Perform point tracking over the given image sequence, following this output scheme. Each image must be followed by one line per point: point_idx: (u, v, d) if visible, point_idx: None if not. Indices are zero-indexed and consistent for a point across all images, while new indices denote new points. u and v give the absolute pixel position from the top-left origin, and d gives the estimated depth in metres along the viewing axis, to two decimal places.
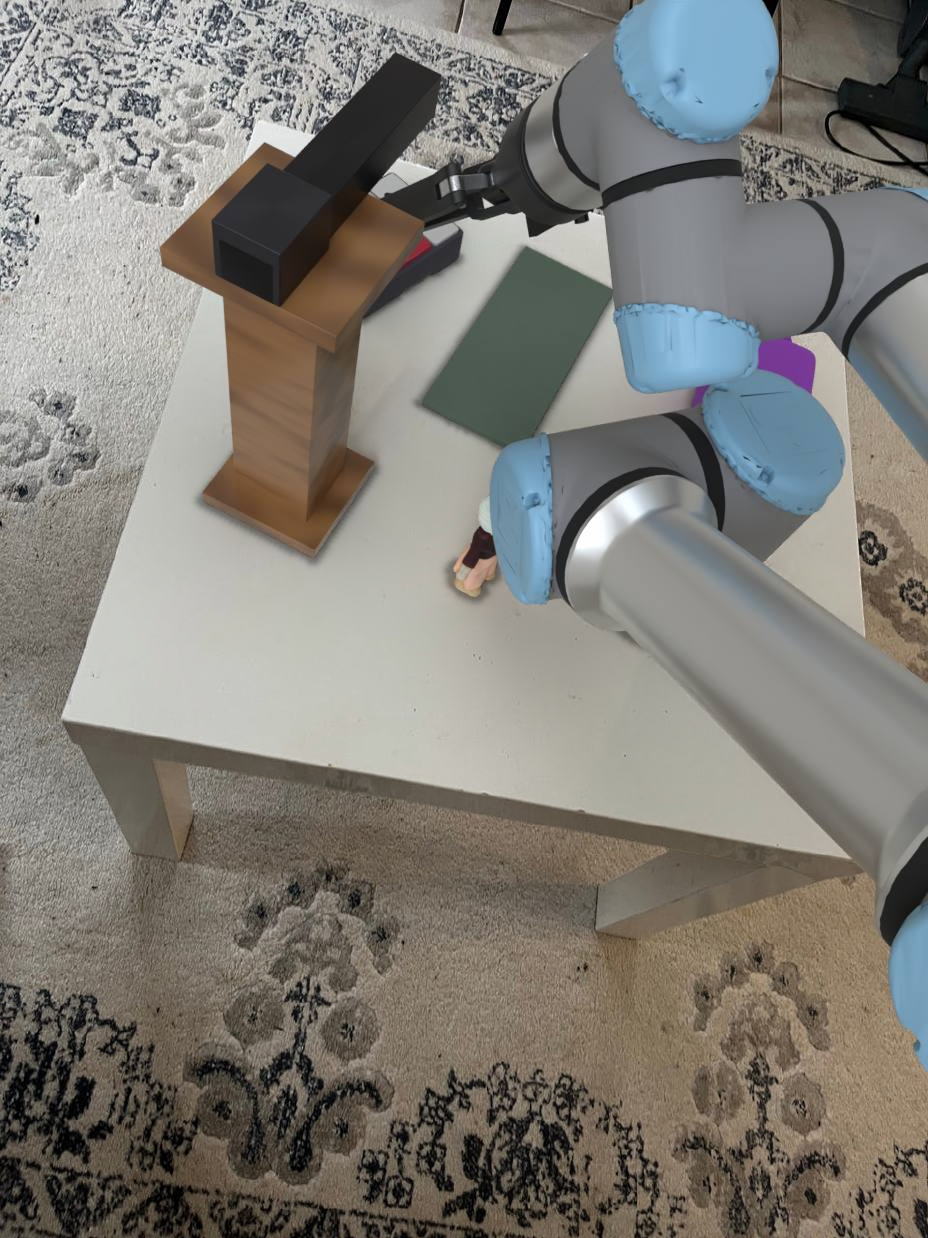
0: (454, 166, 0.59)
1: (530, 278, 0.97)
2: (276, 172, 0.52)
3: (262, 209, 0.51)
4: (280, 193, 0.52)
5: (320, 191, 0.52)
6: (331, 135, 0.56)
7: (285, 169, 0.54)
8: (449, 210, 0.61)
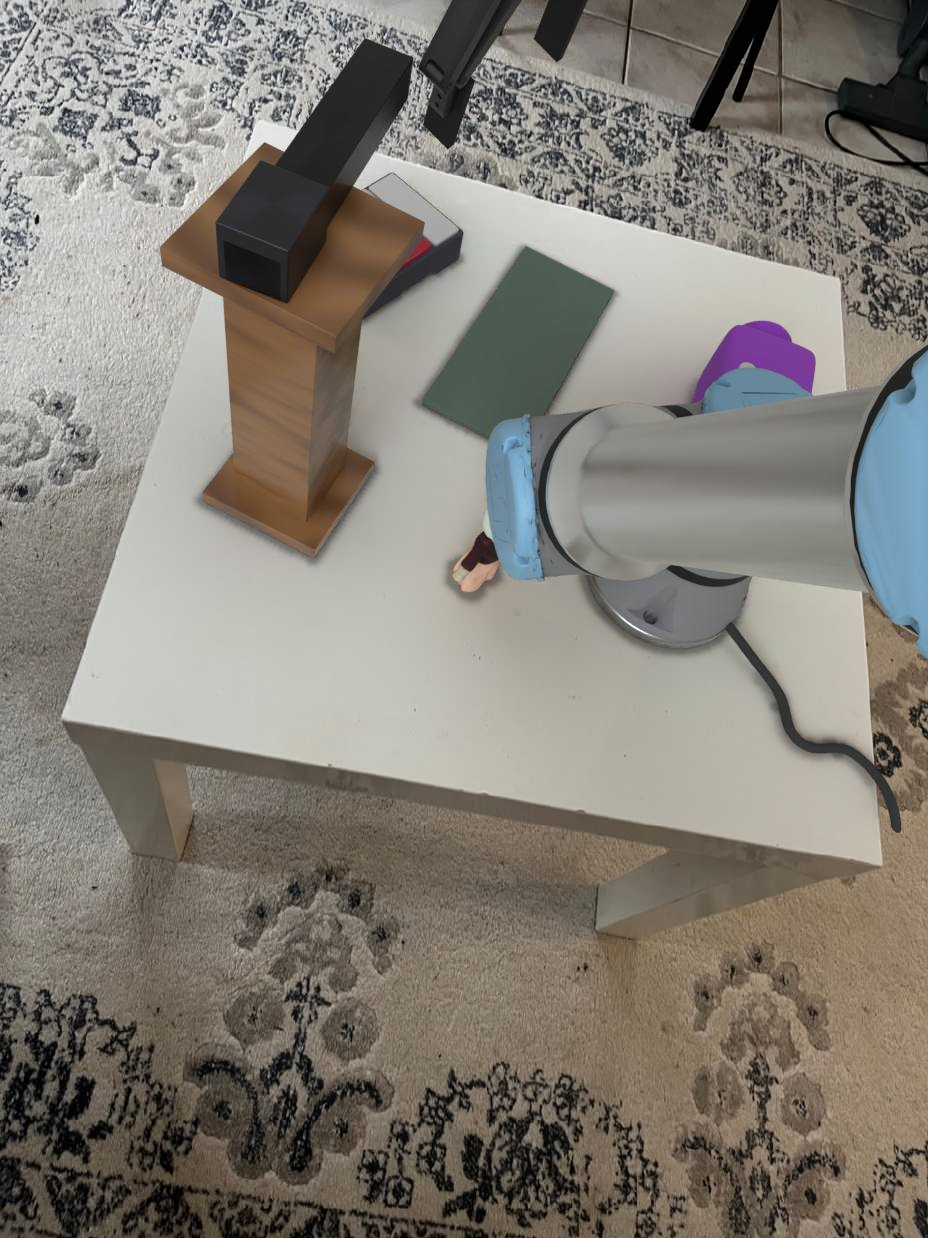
0: None
1: (530, 278, 0.97)
2: (271, 168, 0.52)
3: (263, 207, 0.51)
4: (278, 189, 0.52)
5: (317, 184, 0.52)
6: (316, 127, 0.56)
7: (277, 165, 0.54)
8: None
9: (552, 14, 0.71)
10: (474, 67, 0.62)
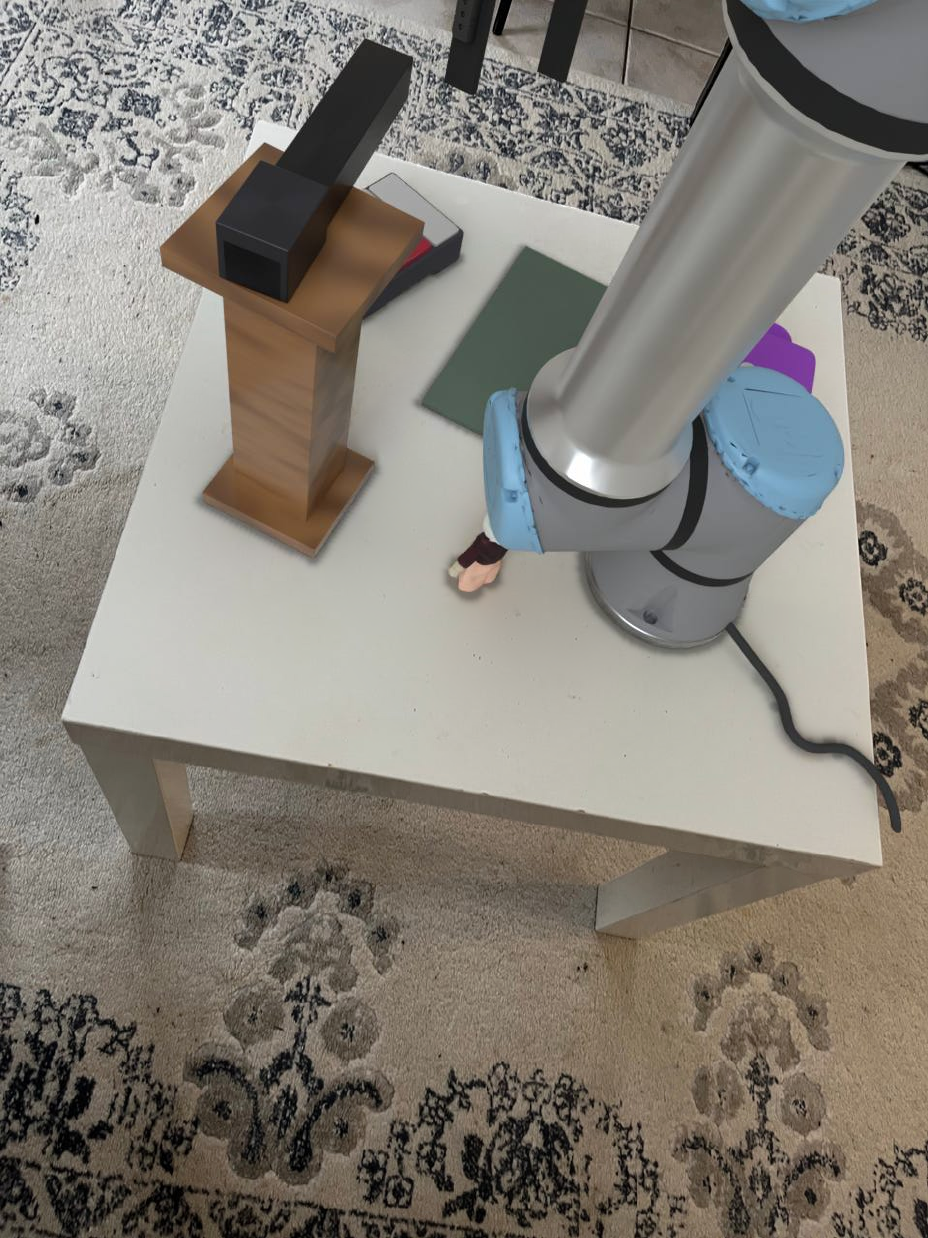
0: None
1: (530, 278, 0.97)
2: (271, 168, 0.52)
3: (263, 207, 0.51)
4: (278, 189, 0.52)
5: (317, 184, 0.52)
6: (316, 127, 0.56)
7: (277, 165, 0.54)
8: None
9: (553, 34, 0.76)
10: None
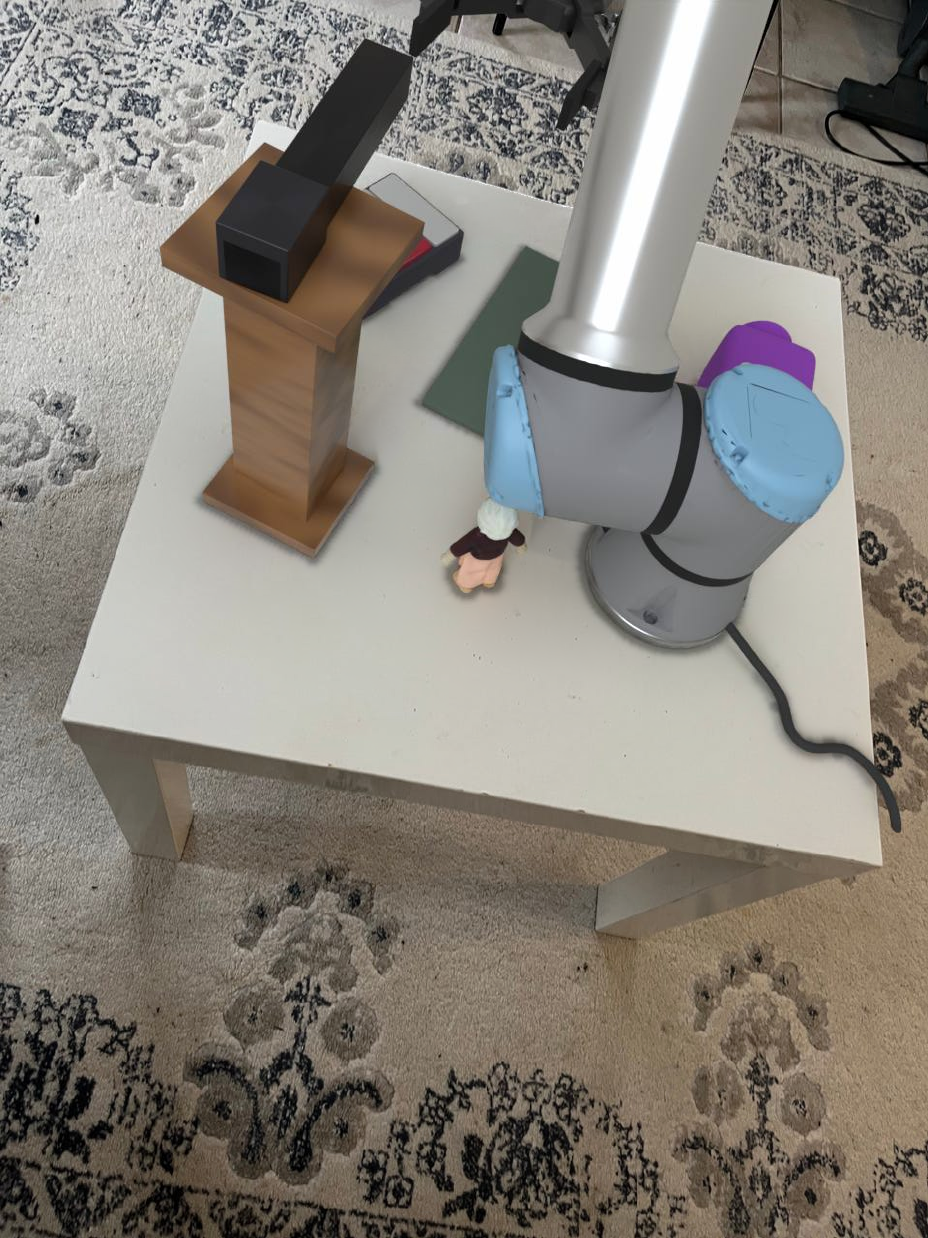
0: None
1: (530, 278, 0.97)
2: (271, 168, 0.52)
3: (263, 207, 0.51)
4: (278, 189, 0.52)
5: (317, 184, 0.52)
6: (316, 127, 0.56)
7: (277, 165, 0.54)
8: None
9: None
10: None
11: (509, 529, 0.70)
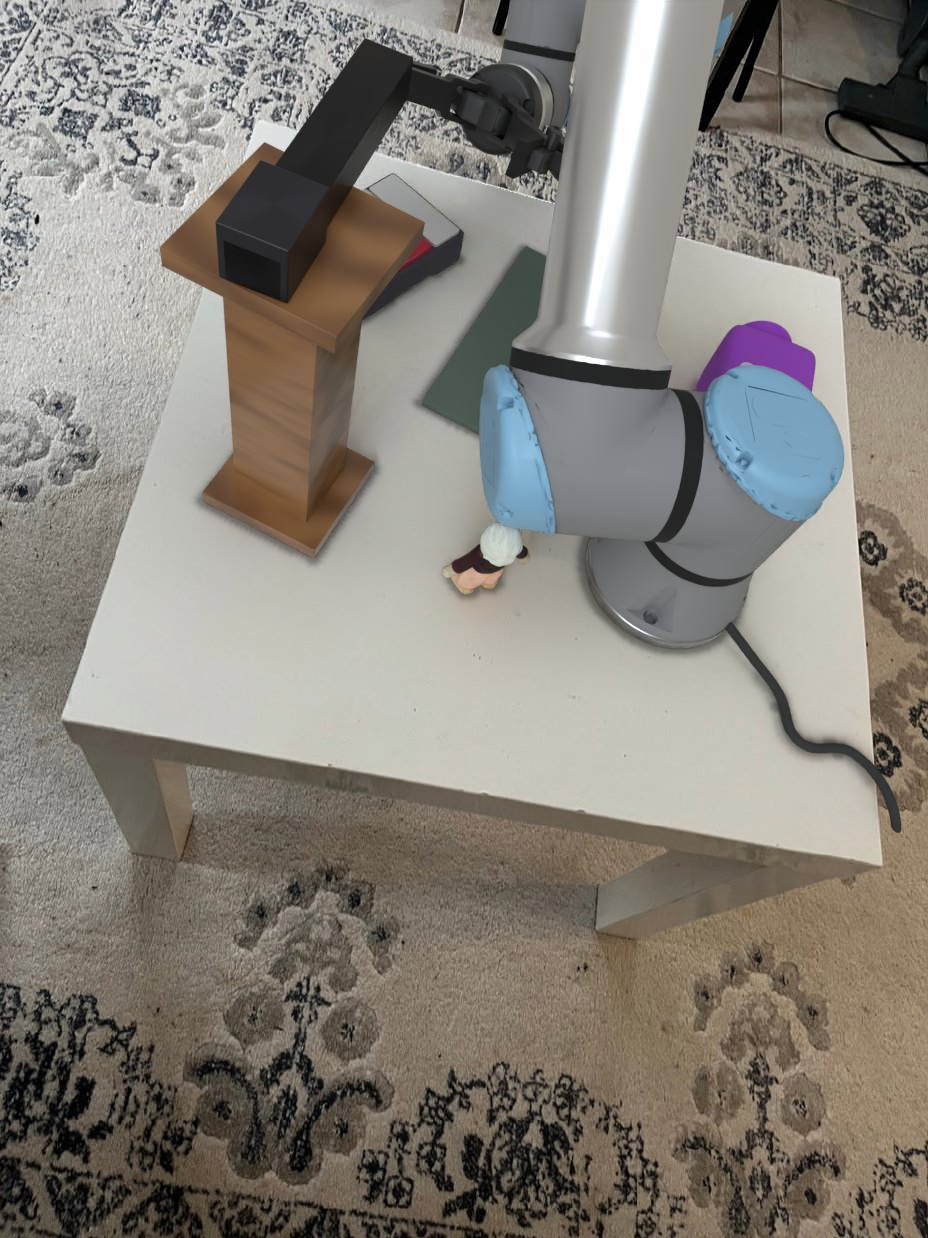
0: None
1: (530, 278, 0.97)
2: (271, 168, 0.52)
3: (263, 207, 0.51)
4: (278, 189, 0.52)
5: (317, 184, 0.52)
6: (316, 127, 0.56)
7: (277, 165, 0.54)
8: (429, 66, 0.81)
9: None
10: None
11: (512, 557, 0.69)
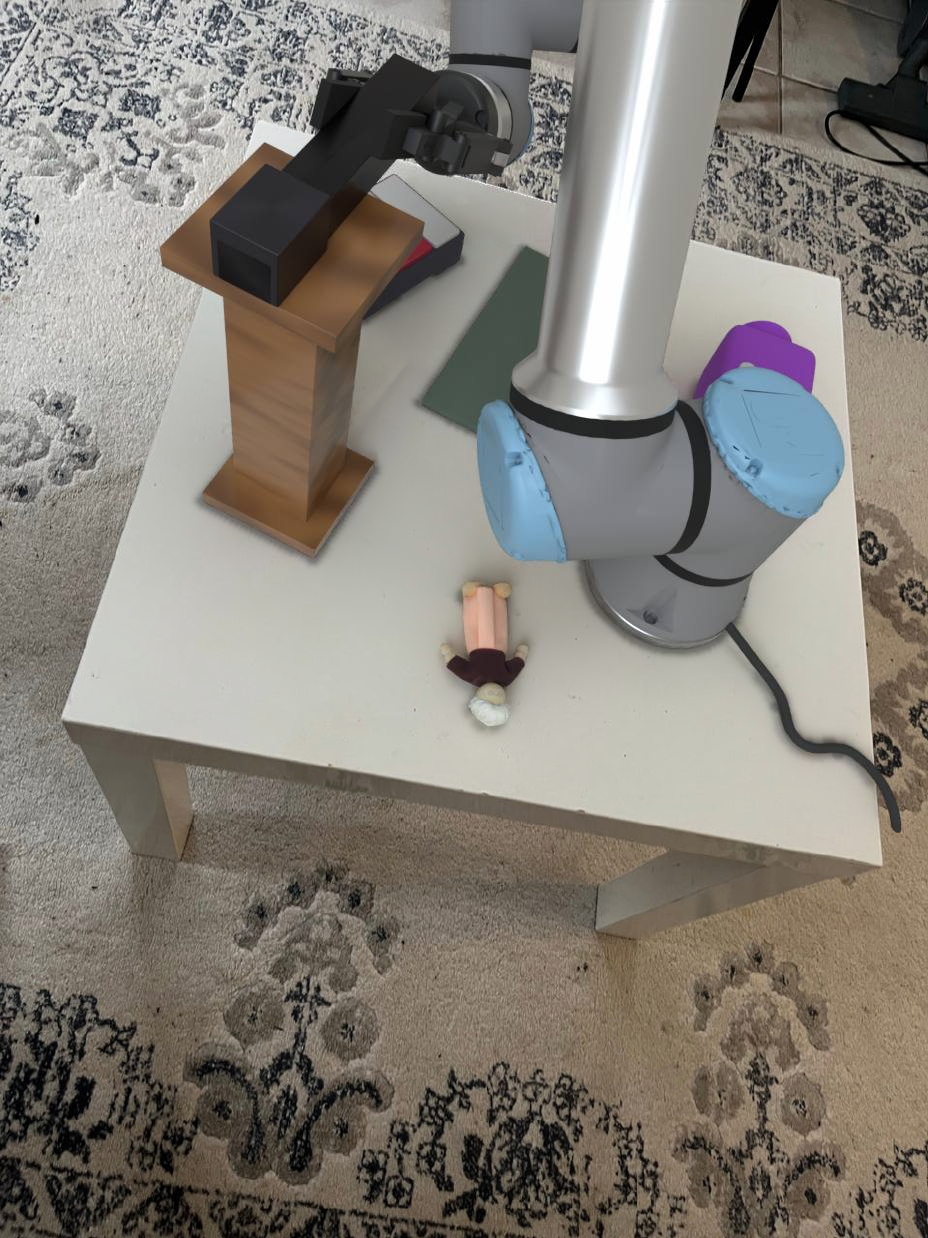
0: None
1: (530, 278, 0.97)
2: (274, 172, 0.52)
3: (260, 209, 0.51)
4: (278, 193, 0.51)
5: (318, 192, 0.52)
6: (330, 136, 0.56)
7: (283, 169, 0.54)
8: (369, 74, 0.67)
9: None
10: None
11: None
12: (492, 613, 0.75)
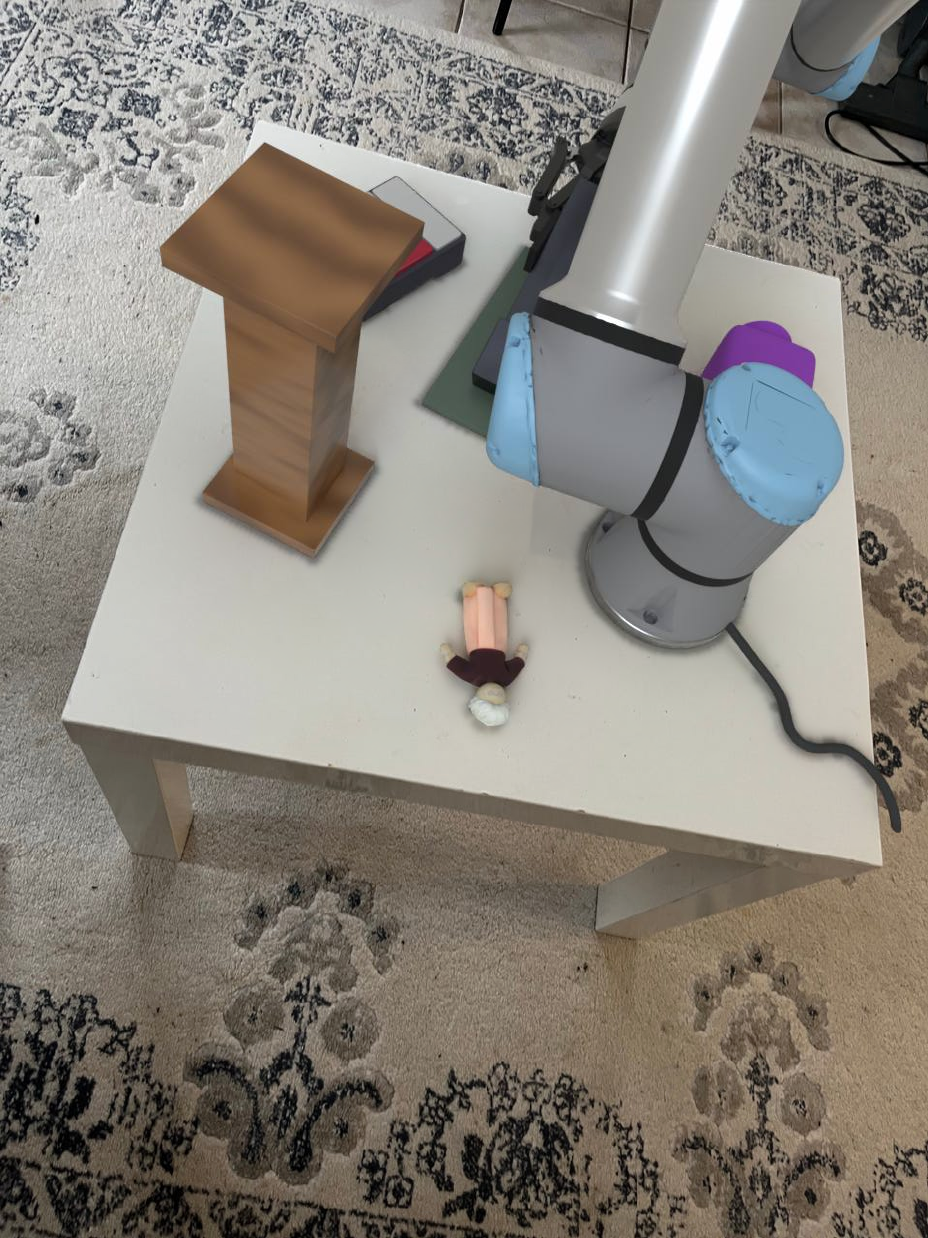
0: None
1: None
2: (506, 324, 0.85)
3: (500, 358, 0.85)
4: None
5: None
6: (538, 273, 0.86)
7: (510, 311, 0.86)
8: (562, 150, 0.91)
9: None
10: (560, 199, 0.88)
11: None
12: (492, 613, 0.75)
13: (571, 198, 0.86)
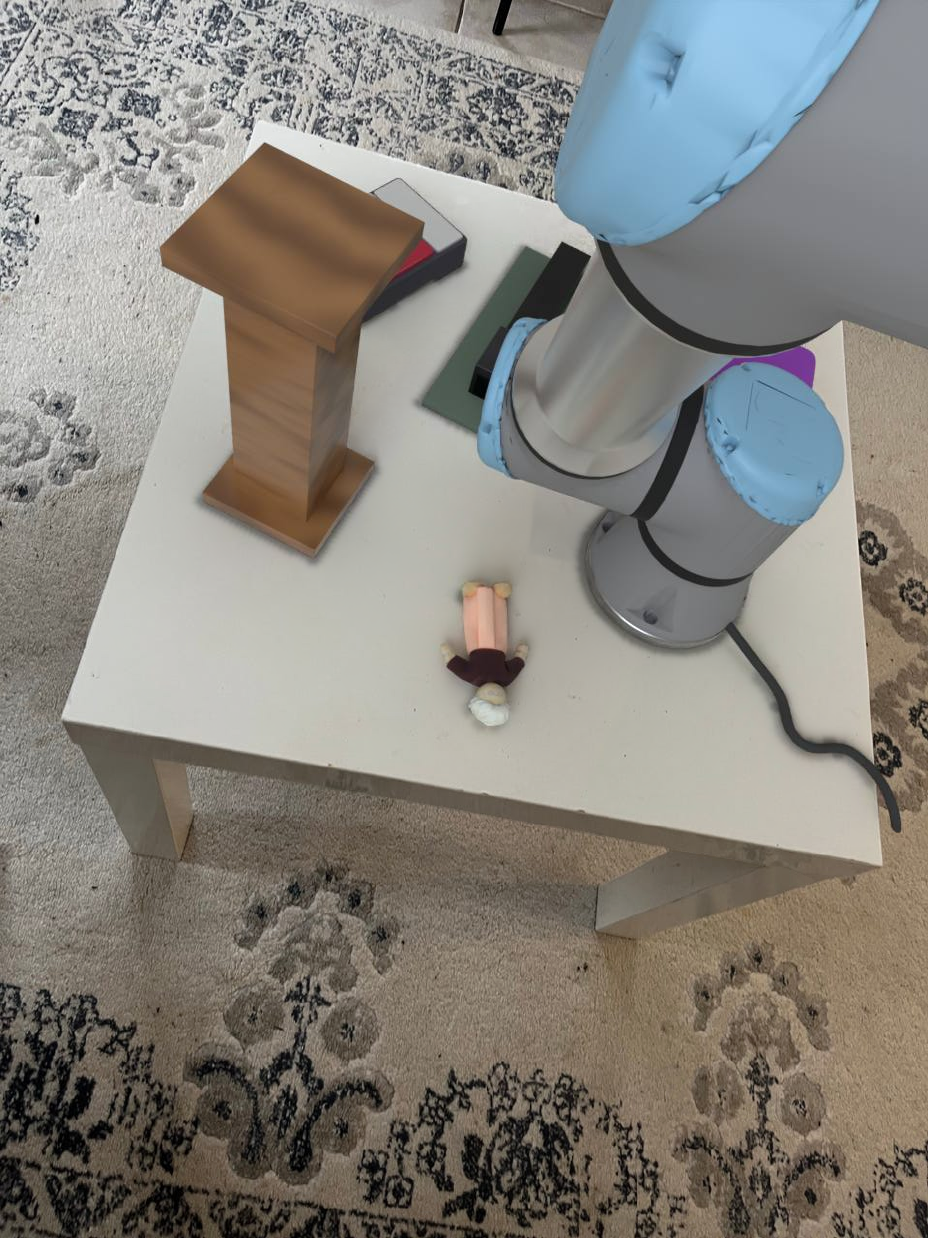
0: None
1: (530, 278, 0.97)
2: (507, 331, 0.88)
3: None
4: None
5: None
6: (531, 302, 0.91)
7: (508, 327, 0.89)
8: None
9: None
10: None
11: None
12: (492, 613, 0.75)
13: (555, 254, 0.95)
